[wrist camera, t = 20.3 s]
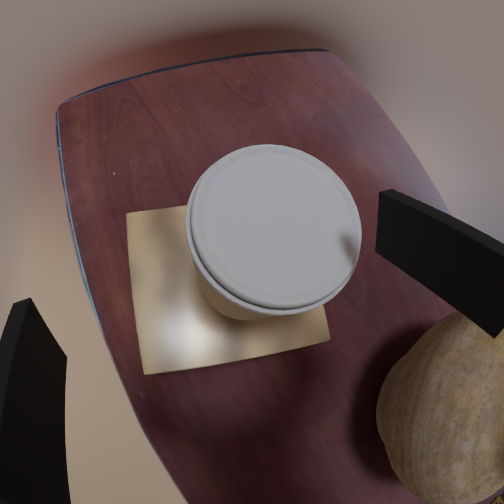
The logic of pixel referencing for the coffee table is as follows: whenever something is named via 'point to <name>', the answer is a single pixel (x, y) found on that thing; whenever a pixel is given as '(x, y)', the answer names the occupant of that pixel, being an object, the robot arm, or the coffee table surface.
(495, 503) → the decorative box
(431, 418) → the vase
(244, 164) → the coffee cup
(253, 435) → the coffee table surface
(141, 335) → the wooden stand
